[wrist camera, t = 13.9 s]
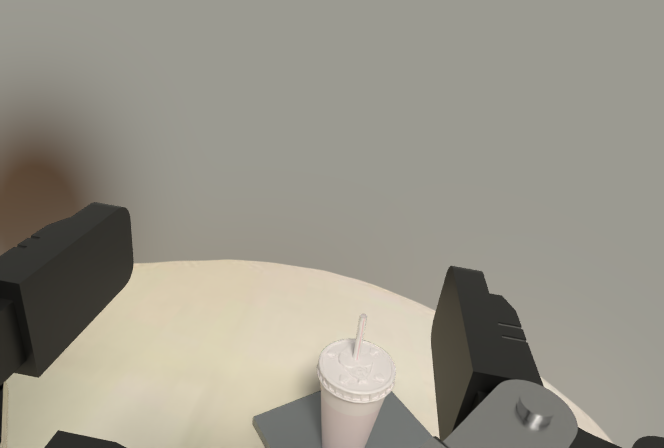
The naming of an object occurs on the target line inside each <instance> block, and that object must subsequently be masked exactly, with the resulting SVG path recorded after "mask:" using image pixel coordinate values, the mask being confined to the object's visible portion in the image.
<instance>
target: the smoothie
mask: <svg viewBox="0 0 664 448" xmlns="http://www.w3.org/2000/svg"><path fill="white" fill-rule="evenodd" d="M366 320H367V315H366V314H360V319H359V324H358V330H357V336H356V339H342V340H338V341H335V342H332V343H330V344H329V345H327V346H326V347H325V348H324V349H323V350H322V352H321V354H320V356H319V361H318V365H317V375H318V378H319V380H320V382H321V426H322V448H365V445H366V443H367V440H368V438H369V436H370V433H371V431H372V428H373V426H374V423H375V421H376V418H377V416H378V413H379V411H380V408H381V406H382V404H383V401H384V399H385V397H386V396H387V395H388V394H389V393H390V392H391V390H392V388H393V387H394V383H395V375H396V367H395V364H394V362H393V360H392V358H391V357H390V355H389V354H388V353H387V352H386V351H384V350H383V349H382V348H380V347H379V346H377V345H375V344H373V343H371V342H368V341H365V340H363V336H364V331H365V325H366Z"/></svg>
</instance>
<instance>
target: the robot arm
mask: <svg viewBox="0 0 664 448" xmlns="http://www.w3.org/2000/svg"><path fill="white" fill-rule="evenodd" d="M132 270H133V248H132V235H131V222H130V214H129V212H128V210H127V209H126V208H124V207H119V206H114V205H108V204H102V203H97V202H94V203H91V204H90V205H88V206H87V207H85V208H84V209H82V210H81V211H79V212H78V213H76V214H75V215H73V216H72V217H70V218H66V219H64V220H61V221H58V222H55V223H52V224H49V225H47V226H45V227H44V228H42V229H41V230H39V231H38V232H36V233H35V234H33V235H32V236H31V238H27V239H25V240H24V241H22V242H21V243H19V244H18V246H17V247H13V248H12V249H10V250H9V251H7V252H6V253H4V254H3V255H1V256H0V448H7V422H8V387H7V383H6V380H7V379H8V378H9V377H10V376H11V375H12V374H13V373H18V374H23V375H28V376H33V377H38V378H39V377H40V376H41V375H42V374H43V372H44V371H45V370H46V369H47V368H48V367H49V366H50V365H51V364H52V363H53V362H54V361H55V360H56V359H57V358H58V357H59V356H60V354H61V353H62V352H63V351H64V350H65V349H66V348H67V347H68V346H69V345H70V344H71V343H72V342H73V341H74V340H75V339H76V338H77V336H78V335H79V334H80V333H81V332H82V331H83V330H84V329H85V328H86V327H87V326H88V325H89V324H90V323H91V322H92V321H93V320H94V318H95V317H96V316H97V315H98V314H99V313H100V312H101V311H102V310H103V309H104V308H105V307H106V306H107V305H108V304H109V303H110V301H111V300H112V299H113V298H114V297H115V296H116V295H117V294H118V293H119V292H120V291H121V290H122V289H123V288H124V287H125V285H126V284H127V283H128V281H129V279H130V277H131V274H132ZM431 348H432V359H433V370H434V381H435V392H436V403H437V414H438V425H439V436H440V439H439V438H438V437H436V436H434V437H431V438H430V439H428V440H427V441H426V442H425V443H424V444H423V445H422V446H421V447H420V448H621V447H619V446H617V445H615V444H612V443H610V442H608V441H605V440H603V439H601V438H599V437H596V436H594V435H592V434H590V433H588V432H586V431H584V430H582V429H580V428H579V427H578V425H577V421H576V418H575V416H574V414H573V412H572V410H571V409H570V408H569V407H568V405H567V404H566V403H565V402H564V401H563V400H562V399H561V398H560V397H558V396H557V395H556V394H554V393H553V392H551V391H550V390H548V389H546V388H545V387H544V386H543V383H542V381H541V378H540V376H539V373H538V370H537V367H536V364H535V362H534V359H533V356H532V354H531V351H530V348H529V346H528V343H526V337H525V335H524V332H523V330H522V329H521V324H520V321H519V318H518V316H517V313H516V311H515V310H514V308H512V306H511V305H510V304H509V303H508V302H507V301H506V300H505V299H504V298H503V297H502V296H500V295H494V294H489V291H488V287H487V284H486V281H485V278H484V274H483V272H482V271H477V270H472V269H466V268H461V267H455V266H450V267H449V269H448V271H447V274H446V277H445V281H444V285H443V288H442V291H441V295H440V298H439V302H438V305H437V309H436V312H435V316H434V320H433V325H432V332H431ZM45 448H126V447H124V446H122V445H120V444H118V443H116V442H112V441H107V440H102V439H97V438H92V437H88V436H83V435H78V434H73V433H68V432H64V431H59V430H58V431H57V432H56V434H55V435H54V436H53V437H52V439H51V440H50V441H49V443H48V444H47V445H46V446H45ZM632 448H664V438H663V437H657V436H646V437H642V438H640V439H638V440H637V441H636V442H635V443H634V445H633V447H632Z"/></svg>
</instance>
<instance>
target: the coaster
mask: <svg viewBox="0 0 664 448" xmlns="http://www.w3.org/2000/svg"><path fill="white" fill-rule="evenodd" d="M253 425H254V427H255V429H256V431H257V433H258V435H259V436H260V438H261V440H262V442H263V444H264V446H265V447H266V448H322V426H321V391H319V392H316V393H313V394H311V395H308V396H306V397H303V398H301V399H298V400H295V401H293V402H290V403H288V404H285V405H283V406H280V407H277V408H275V409H272V410H270V411H267V412H265V413H262V414H259V415H257V416H254V417H253ZM431 437H432V435H431V434H430V433H429V432H428V431H427V430H426V429H425V428H424V427H423V425H422V424H421V423H420V422H419V421H418V420H417V419H416V418H415V417H414V415H413V414H412V413H411V412H410V411H409V410H408V409H407V408H406V407H405V405H404V404H403V403H402V402H401V401H400V400H399V399H398V398H397V397H396V395H395V394H394V393H393V392H392V391H391V392H390V393H389V394H388V395H387V396H386V397H385V399H384V401H383V404H382V406H381V408H380V411H379V413H378V416H377V418H376V421H375V423H374V426H373V428H372V431H371V433H370V436H369V438H368V440H367V443H366V445H365V448H420V447H421V446H422V445H423V444H424V443H425V442H426V441H427V440H428V439H430V438H431Z"/></svg>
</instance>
